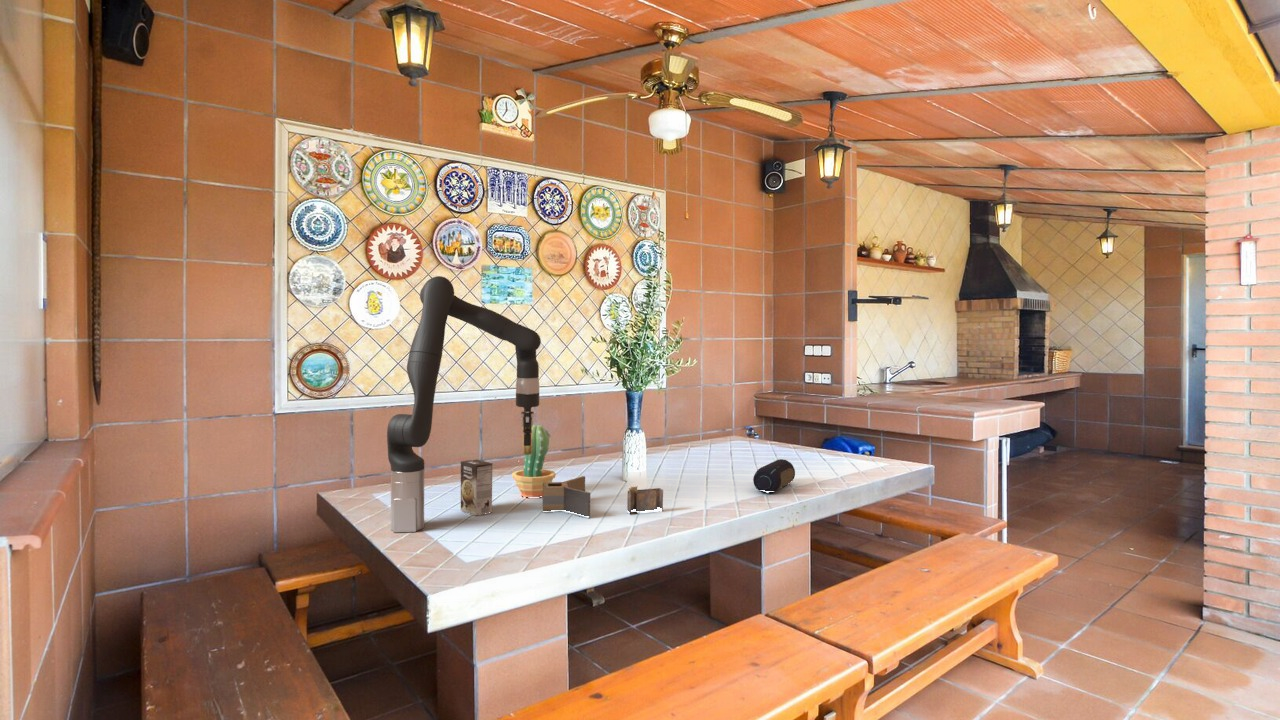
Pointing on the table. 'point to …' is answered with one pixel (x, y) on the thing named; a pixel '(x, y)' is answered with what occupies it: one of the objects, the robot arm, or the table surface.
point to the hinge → (566, 496)
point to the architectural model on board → (644, 499)
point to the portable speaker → (774, 475)
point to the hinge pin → (527, 449)
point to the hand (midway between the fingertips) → (527, 444)
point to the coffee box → (476, 487)
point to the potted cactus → (535, 465)
